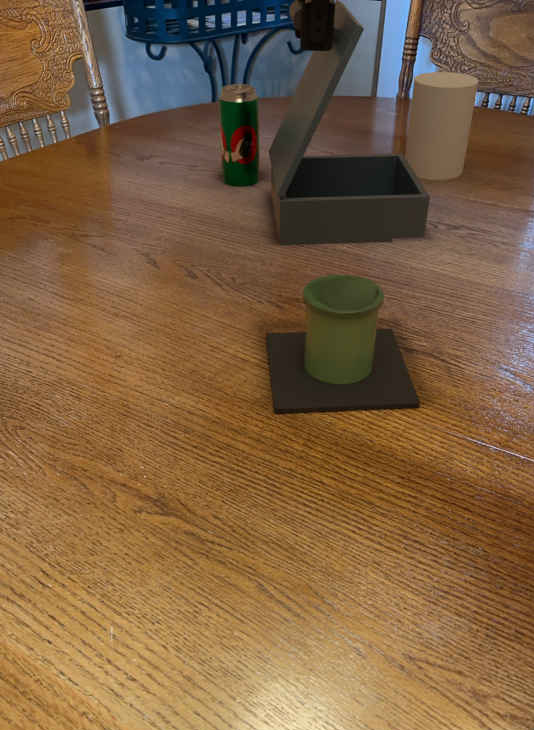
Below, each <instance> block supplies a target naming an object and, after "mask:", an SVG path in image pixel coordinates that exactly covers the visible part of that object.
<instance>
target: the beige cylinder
mask: <svg viewBox="0 0 534 730" xmlns="http://www.w3.org/2000/svg"><path fill="white" fill-rule="evenodd" d="M478 85H479V79H478V78H477V77H474V76H473V75H469V74H465V73H460V72H450V71H431V72H424V73H420V74H417V75H416V76H415V77H414V79H413V87H412V96H411V104H410V112H409V120H408V129H407V136H406V137H407V138H406V145H405V153H404V154H405V155H404V156H405V158H406V160H407V161H408V163H409V164H410V166H411V168H412V169H413V171H414V172H415V174H416V176H417V177H418V179H422V180H430V181H446V180H452V179H455V178H458V177H460V176H461V175H462V174H463V172H464V167H465V165H464V164H465V161H466V155H467V150H468V143H469V139H470V131H471V126H472V120H473V114H474V108H475V104H476V97H477V92H478Z"/></svg>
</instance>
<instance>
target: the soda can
mask: <svg viewBox="0 0 534 730" xmlns="http://www.w3.org/2000/svg"><path fill="white" fill-rule="evenodd" d="M220 91H221V92H220V94H219V97H218V112H219V113H218V114H219V135H220V156H221V157H220V159H221V173H222V174H221V177H222V183H223V184H225V185H226V186H229V187H236V188H246V187H251V186H255V185H257V184H258V183H260V178H261V177H260V176H261V175H260V107H259V106H260V103H259V102H260V101H259V100H260V99H259V98H260V97H259V95H258V94H257V92H256V87H255V86H254V85H251V84H243V83H232V84H227V85H225V86H222V87H221V88H220Z"/></svg>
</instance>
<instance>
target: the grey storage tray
mask: <svg viewBox="0 0 534 730" xmlns="http://www.w3.org/2000/svg"><path fill="white" fill-rule="evenodd" d="M270 167H271V168H270V171H271V172H270V175H271V176H270V179H271V180H270V181H271V182H270V183H271V185H270V189H271V190H270V191H271V192H270V193H271V196H270V197H271V198H270V199H271V204H272V209H273V214H274V215H273V216H274V220H275V226H276V231H277V232H276V233H277V238H278V243H279V244H278V245H279V246H303V245H335V244H339V245H340V244H366V243H393V240H392V239H418V238H419V239H421V238H425V234H426V233H425V232H426V226H427V219H428V212H429V205H430V200H431V196H430V194H429V193H428V192H427V190H426V189H425V186H424V185H423V184H422V182H421V180H420V178H418V177H417V176H416V174H415V172H414V171H413V169H412V168H411V166H410V164H409V163H408V161H407V160H406V158H405V155H404V153H369V154H368V153H367V154H333V155H332V154H330V155H304V156H303V158H302V160H301V162H300V164H299V166H298V168H297V170H296V172H295V174H294V177H293V179H292V181H291V183H290V185H289V187H288V189H287V191H286V193H285V195H284V197H283V198H282V197H280V196H278V195H277V192H276V187H275V182H274V176H273V171H272V166H270Z"/></svg>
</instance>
